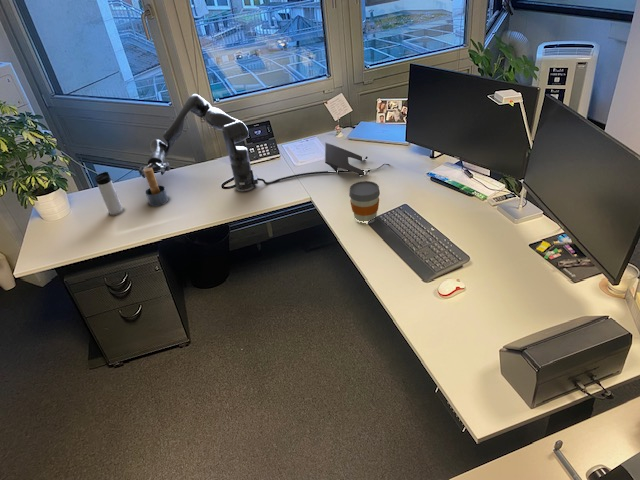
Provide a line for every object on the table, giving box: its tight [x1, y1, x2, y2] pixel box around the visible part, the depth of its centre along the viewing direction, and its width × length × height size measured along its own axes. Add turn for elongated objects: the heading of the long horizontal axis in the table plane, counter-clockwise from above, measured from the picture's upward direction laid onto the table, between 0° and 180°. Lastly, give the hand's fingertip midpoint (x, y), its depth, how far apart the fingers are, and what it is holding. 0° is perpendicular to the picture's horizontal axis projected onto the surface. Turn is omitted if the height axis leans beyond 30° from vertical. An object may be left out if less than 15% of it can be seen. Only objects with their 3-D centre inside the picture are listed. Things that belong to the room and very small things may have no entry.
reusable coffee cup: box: [348, 180, 381, 226], centre depth 193 cm, size 13×12×15 cm
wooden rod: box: [144, 168, 160, 194], centre depth 222 cm, size 4×4×17 cm
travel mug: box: [94, 171, 124, 216], centre depth 216 cm, size 6×7×20 cm
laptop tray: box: [324, 142, 371, 176], centre depth 234 cm, size 23×23×9 cm
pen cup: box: [144, 185, 169, 207], centre depth 225 cm, size 9×9×6 cm
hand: (152, 174), depth 223 cm, fingers open, 8 cm apart
